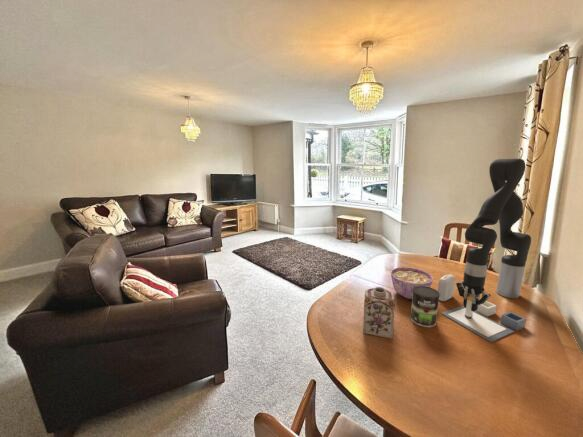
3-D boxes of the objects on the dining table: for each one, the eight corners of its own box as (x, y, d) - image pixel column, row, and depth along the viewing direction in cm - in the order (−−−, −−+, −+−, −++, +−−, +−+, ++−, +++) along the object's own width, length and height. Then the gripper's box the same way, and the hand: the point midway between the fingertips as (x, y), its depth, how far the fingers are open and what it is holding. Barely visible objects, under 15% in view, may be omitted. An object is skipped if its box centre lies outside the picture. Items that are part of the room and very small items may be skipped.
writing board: (463, 306, 122) (463, 305, 122) (514, 332, 104) (514, 330, 103) (441, 313, 117) (441, 312, 117) (491, 342, 98) (491, 341, 98)
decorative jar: (391, 322, 112) (394, 284, 108) (393, 339, 101) (396, 298, 97) (363, 317, 116) (365, 281, 112) (362, 333, 105) (363, 294, 101)
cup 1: (481, 307, 122) (483, 299, 121) (495, 313, 116) (496, 305, 115) (474, 309, 119) (475, 302, 119) (487, 316, 114) (488, 308, 113)
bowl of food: (388, 301, 128) (390, 280, 126) (389, 283, 146) (390, 265, 144) (433, 308, 121) (435, 286, 118) (428, 289, 139) (430, 269, 137)
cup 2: (508, 319, 112) (509, 311, 111) (524, 327, 106) (526, 318, 105) (500, 323, 109) (501, 314, 109) (516, 331, 104) (517, 322, 103)
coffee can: (438, 329, 106) (441, 299, 103) (411, 324, 110) (414, 295, 107) (434, 315, 116) (437, 287, 113) (409, 311, 119) (411, 284, 116)
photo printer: (445, 293, 135) (448, 271, 132) (454, 296, 131) (457, 274, 129) (435, 299, 129) (438, 276, 127) (444, 302, 126) (447, 279, 123)
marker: (467, 314, 115) (470, 294, 112) (473, 317, 112) (477, 297, 110) (463, 315, 114) (466, 295, 111) (469, 319, 111) (473, 298, 109)
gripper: (498, 277, 103) (492, 315, 107) (464, 265, 116) (460, 299, 120) (487, 280, 101) (480, 319, 104) (453, 268, 113) (448, 302, 117)
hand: (469, 308), depth 112 cm, fingers closed on marker, 2 cm apart
